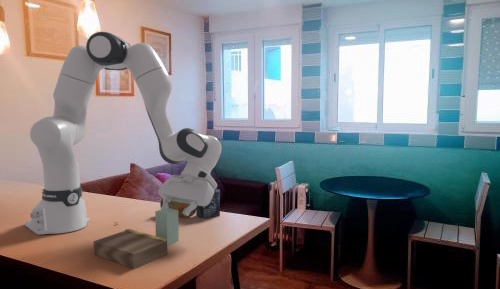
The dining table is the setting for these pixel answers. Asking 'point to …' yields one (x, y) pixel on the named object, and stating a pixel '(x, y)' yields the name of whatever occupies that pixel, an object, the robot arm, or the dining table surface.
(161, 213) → the block
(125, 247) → the block
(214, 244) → the dining table surface
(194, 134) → the robot arm
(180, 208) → the tin
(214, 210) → the box
